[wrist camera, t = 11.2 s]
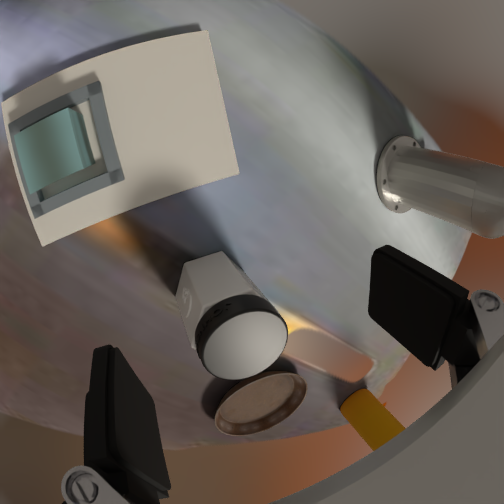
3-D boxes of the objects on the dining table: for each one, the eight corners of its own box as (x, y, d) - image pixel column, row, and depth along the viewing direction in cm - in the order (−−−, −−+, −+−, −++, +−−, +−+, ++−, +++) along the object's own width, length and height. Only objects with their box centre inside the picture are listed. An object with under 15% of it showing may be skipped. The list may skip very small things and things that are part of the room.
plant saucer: (312, 386, 51) (320, 396, 49) (242, 433, 50) (248, 444, 47) (275, 345, 42) (284, 357, 40) (188, 405, 40) (193, 419, 38)
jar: (187, 243, 30) (217, 299, 20) (251, 256, 34) (304, 308, 24) (169, 311, 33) (190, 384, 22) (229, 318, 36) (268, 382, 26)
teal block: (82, 114, 20) (68, 107, 15) (95, 163, 22) (83, 168, 17) (37, 136, 19) (13, 135, 14) (51, 183, 21) (30, 194, 16)
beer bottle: (362, 402, 66) (425, 469, 41) (335, 416, 62) (399, 491, 38) (371, 382, 62) (442, 453, 37) (343, 397, 59) (416, 477, 34)
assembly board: (204, 34, 22) (211, 24, 20) (234, 172, 30) (244, 175, 27) (6, 104, 16) (-5, 101, 14) (46, 241, 24) (38, 252, 21)
